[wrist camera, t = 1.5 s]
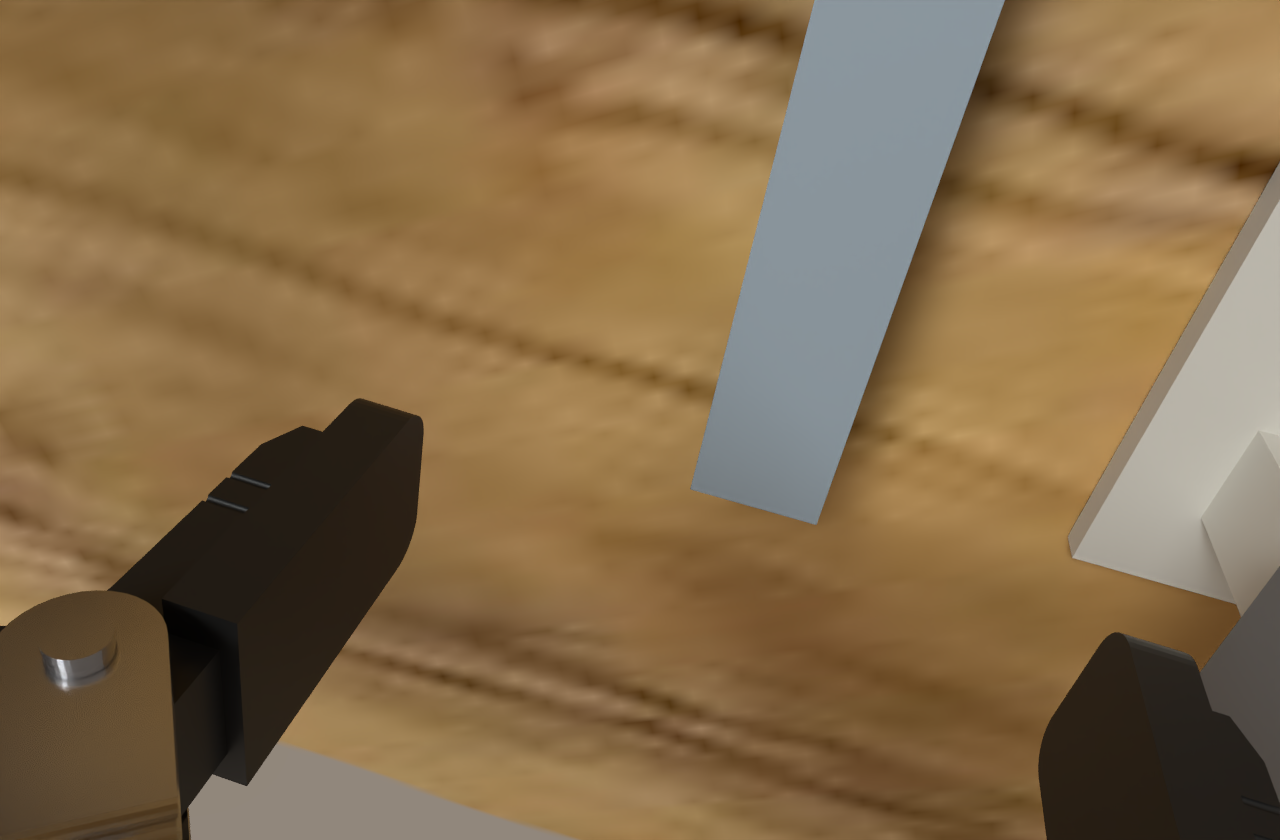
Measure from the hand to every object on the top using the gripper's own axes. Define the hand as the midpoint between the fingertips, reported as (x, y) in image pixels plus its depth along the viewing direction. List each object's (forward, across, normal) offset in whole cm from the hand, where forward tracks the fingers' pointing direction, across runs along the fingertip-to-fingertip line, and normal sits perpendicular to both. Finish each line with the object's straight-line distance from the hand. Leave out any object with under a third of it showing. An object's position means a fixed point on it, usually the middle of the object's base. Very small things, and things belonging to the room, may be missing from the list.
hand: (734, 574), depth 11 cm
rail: (+17, 0, -1) cm, 17 cm away
